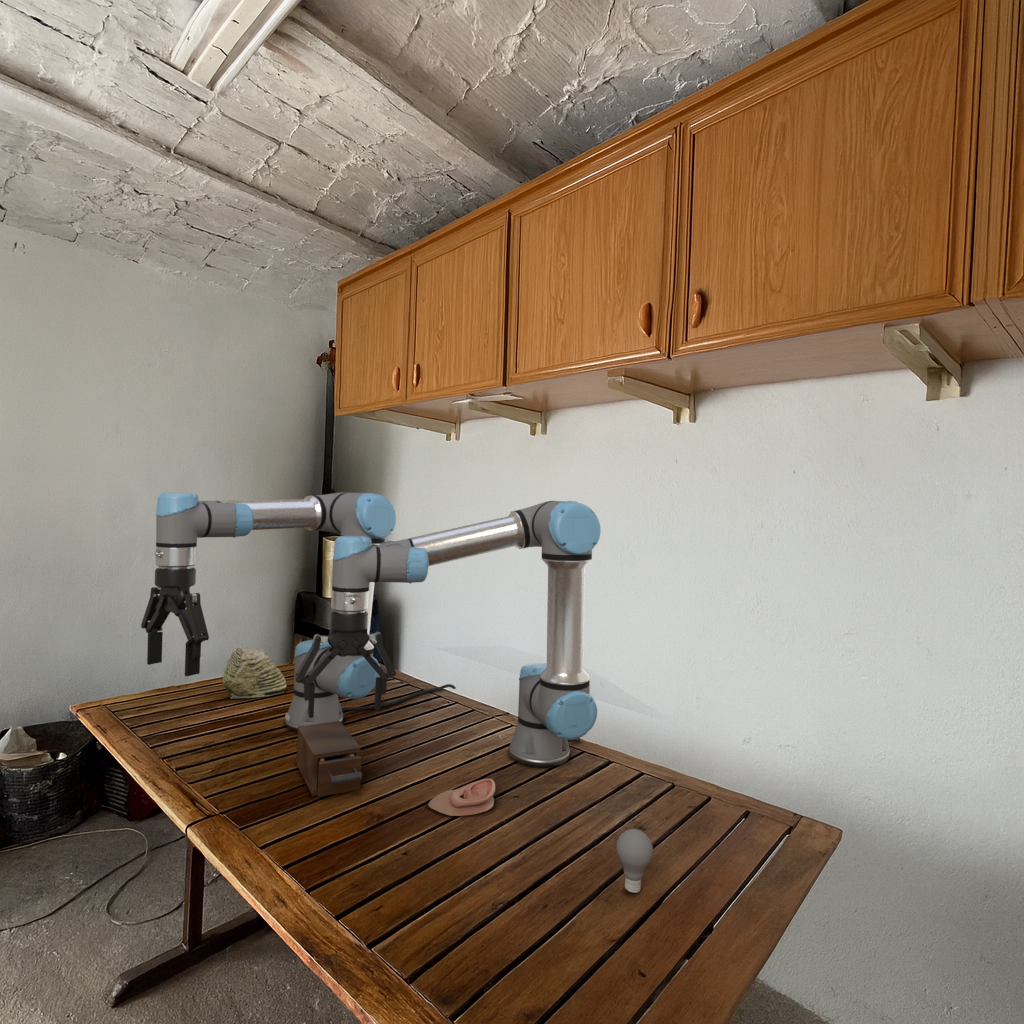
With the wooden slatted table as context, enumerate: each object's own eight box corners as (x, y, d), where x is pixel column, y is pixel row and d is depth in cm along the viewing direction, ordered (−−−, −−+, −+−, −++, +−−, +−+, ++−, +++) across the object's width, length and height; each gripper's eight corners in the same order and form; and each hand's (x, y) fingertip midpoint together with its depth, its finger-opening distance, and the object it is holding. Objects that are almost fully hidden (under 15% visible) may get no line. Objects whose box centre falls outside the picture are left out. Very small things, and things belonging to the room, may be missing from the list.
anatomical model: (423, 792, 129) (441, 769, 140) (422, 812, 129) (440, 787, 140) (487, 801, 126) (499, 777, 137) (486, 821, 126) (498, 795, 137)
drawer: (367, 800, 131) (368, 767, 131) (324, 808, 127) (325, 774, 127) (340, 759, 150) (341, 731, 150) (302, 765, 146) (303, 736, 146)
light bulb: (610, 879, 108) (613, 822, 108) (644, 879, 109) (647, 822, 109) (619, 902, 102) (622, 840, 102) (655, 901, 103) (658, 840, 103)
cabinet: (359, 787, 139) (360, 747, 139) (312, 796, 134) (313, 754, 134) (338, 756, 154) (340, 720, 154) (296, 763, 150) (297, 726, 149)
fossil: (218, 695, 195) (220, 647, 195) (278, 685, 208) (279, 640, 207) (228, 703, 189) (230, 653, 188) (289, 692, 201) (290, 645, 201)
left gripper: (124, 562, 134) (121, 662, 135) (194, 574, 121) (191, 684, 122) (159, 560, 141) (157, 655, 141) (229, 571, 128) (226, 675, 128)
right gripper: (287, 615, 123) (282, 724, 123) (413, 612, 133) (408, 712, 133) (284, 608, 129) (279, 712, 130) (404, 606, 140) (399, 701, 140)
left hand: (172, 669), depth 132 cm, fingers open, 13 cm apart
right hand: (344, 712), depth 131 cm, fingers open, 13 cm apart
